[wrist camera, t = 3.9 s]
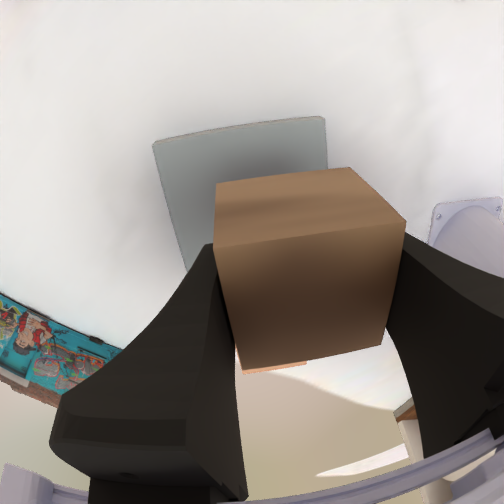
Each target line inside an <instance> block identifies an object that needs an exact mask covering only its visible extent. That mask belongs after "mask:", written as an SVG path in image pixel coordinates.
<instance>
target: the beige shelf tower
mask: <svg viewBox="0 0 504 504" xmlns="http://www.w3.org/2000/svg"><path fill="white" fill-rule="evenodd" d="M393 413H394V416H395V418H396V421H397V424H398V426H399V429H400V432H401V435H402V437H403V441H404V444H405V447H406V449H407V452H408V455H409V458H410V461H411V464H413V463H416V462H418V461H421V460H423V459H424V458H423V449H422V442H421V435H420V429H419V424H418V419H417V414H416V410H415V406H414V402H413V398H410V399H409V400H408V401H407V402H406V403H404V404H403V405H402V406H401V407H399V408H398V409H397V410H396V411H394V412H393ZM496 449H497V448H496ZM496 449H494V450H493V451H491V452H490V453H488V454H486V455H484V456H483V457H481V458H479V459H478V460H476V461H474V462H472V463H470V464H468V465H467V466H465V467H463V468H461V469H459V470H457V471H455V472H453V473H451V474H449V475H447V476H445V477H443V478H441V479H438V480H436V481H434V482H432V483H429V484H427V485H425V486H422V487H420V488H419V489H420V492H421V496H422V499H423V503H424V504H442V503H445V502H447V501H449V500H451V499H452V497H453V494H452V491H451V488H450V484H451V483H452V482H454V481H456V480H457V479H459V478H461V477H462V476H464V475H465V474H467V473H468V472H470V471H471V470H473V469H474V468H476V467H477V466H478V465H479V464H481V463H482V462H484V461H485V460H487V459H488V458H490V457H491V456H493V455H494V454H495V450H496Z"/></svg>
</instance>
